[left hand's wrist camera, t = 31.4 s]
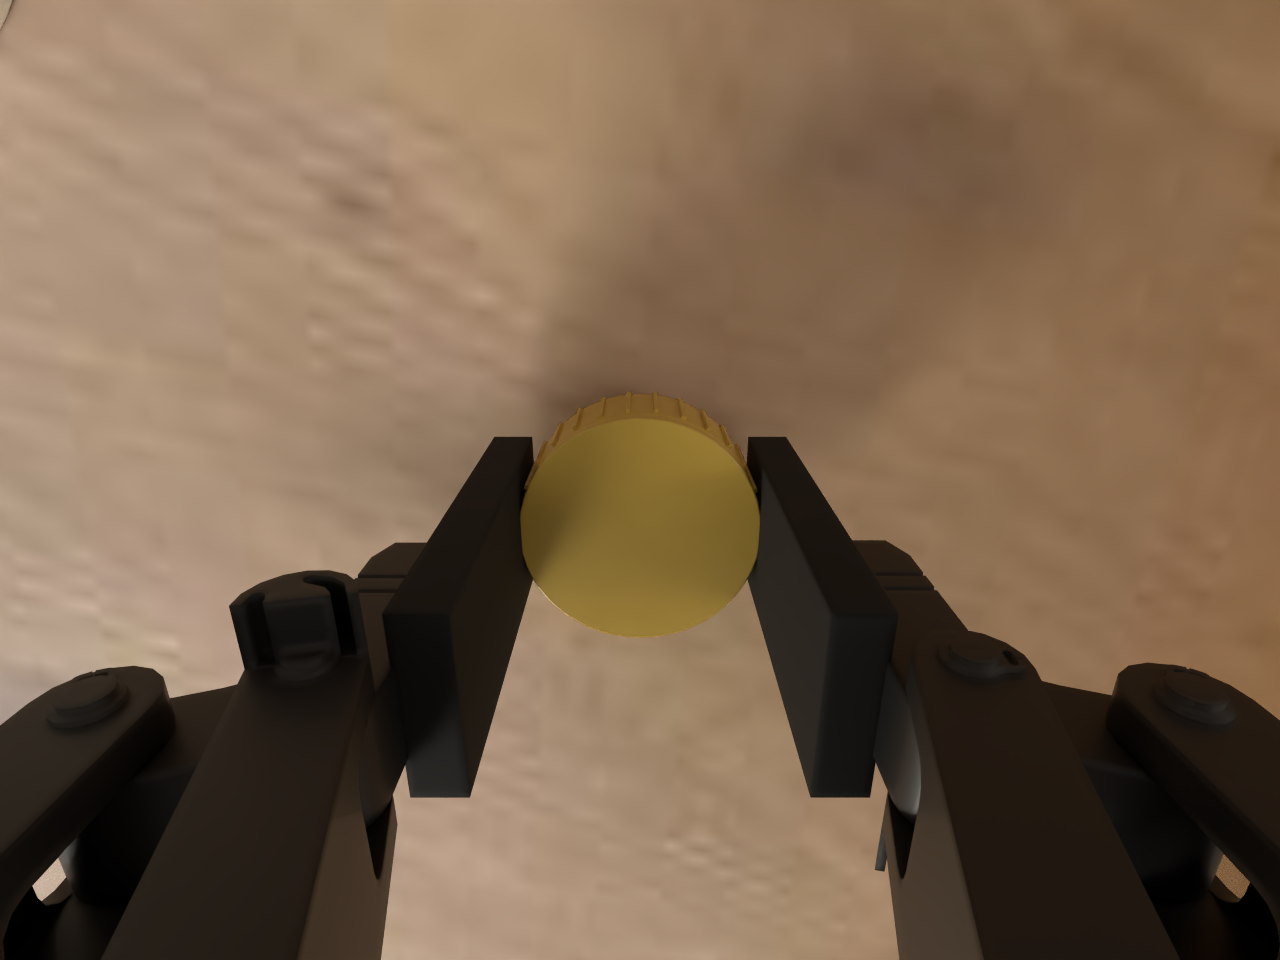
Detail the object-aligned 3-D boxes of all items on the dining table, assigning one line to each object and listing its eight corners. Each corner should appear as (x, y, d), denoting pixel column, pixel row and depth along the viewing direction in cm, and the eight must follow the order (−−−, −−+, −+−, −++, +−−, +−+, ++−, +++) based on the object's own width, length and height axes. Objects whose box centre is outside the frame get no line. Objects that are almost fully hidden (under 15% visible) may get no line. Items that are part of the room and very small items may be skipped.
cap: (782, 545, 15) (799, 588, 13) (590, 623, 15) (584, 672, 14) (697, 352, 13) (706, 372, 12) (490, 447, 14) (470, 478, 12)
